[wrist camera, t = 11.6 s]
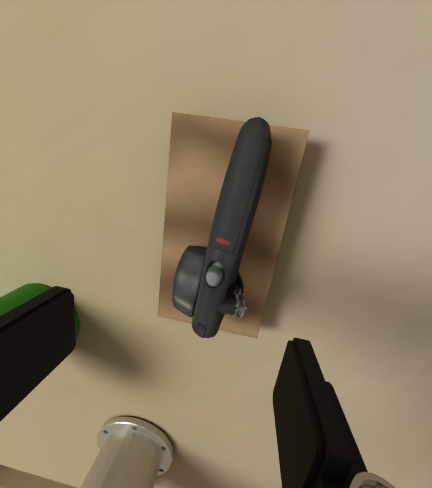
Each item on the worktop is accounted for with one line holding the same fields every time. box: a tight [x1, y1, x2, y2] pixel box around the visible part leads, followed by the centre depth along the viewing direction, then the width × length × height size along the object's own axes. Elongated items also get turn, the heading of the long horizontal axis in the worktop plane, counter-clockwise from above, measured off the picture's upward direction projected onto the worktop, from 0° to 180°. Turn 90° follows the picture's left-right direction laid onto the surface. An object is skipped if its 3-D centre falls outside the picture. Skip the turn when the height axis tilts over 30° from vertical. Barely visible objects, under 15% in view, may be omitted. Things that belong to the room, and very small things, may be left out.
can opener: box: [172, 117, 272, 338], centre depth 18 cm, size 18×7×6 cm, turn 163°
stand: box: [158, 112, 310, 338], centre depth 23 cm, size 20×11×3 cm, turn 172°
